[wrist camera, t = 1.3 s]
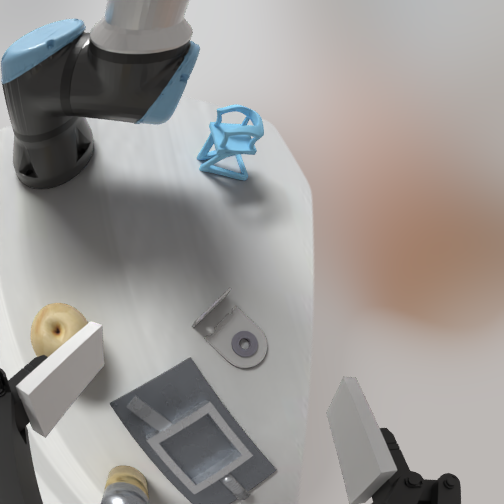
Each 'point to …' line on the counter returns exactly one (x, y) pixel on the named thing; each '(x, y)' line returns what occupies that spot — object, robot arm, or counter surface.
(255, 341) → the bracket
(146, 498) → the gold and grey cylinder
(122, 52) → the robot arm
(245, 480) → the coupling board
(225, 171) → the chair
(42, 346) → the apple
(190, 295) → the counter surface
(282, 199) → the counter surface
